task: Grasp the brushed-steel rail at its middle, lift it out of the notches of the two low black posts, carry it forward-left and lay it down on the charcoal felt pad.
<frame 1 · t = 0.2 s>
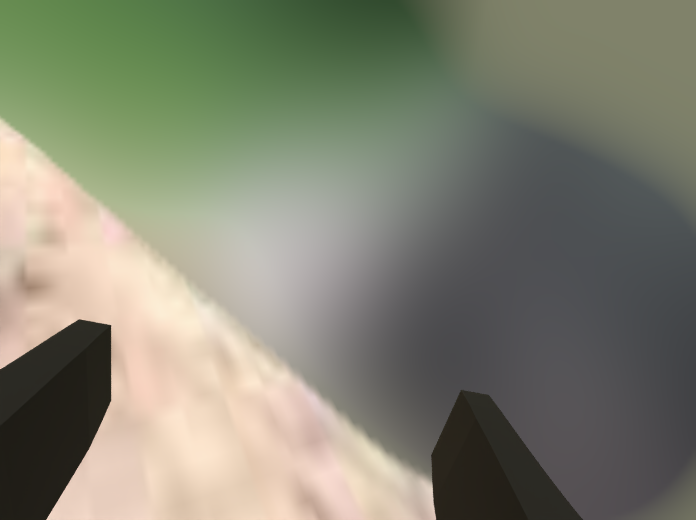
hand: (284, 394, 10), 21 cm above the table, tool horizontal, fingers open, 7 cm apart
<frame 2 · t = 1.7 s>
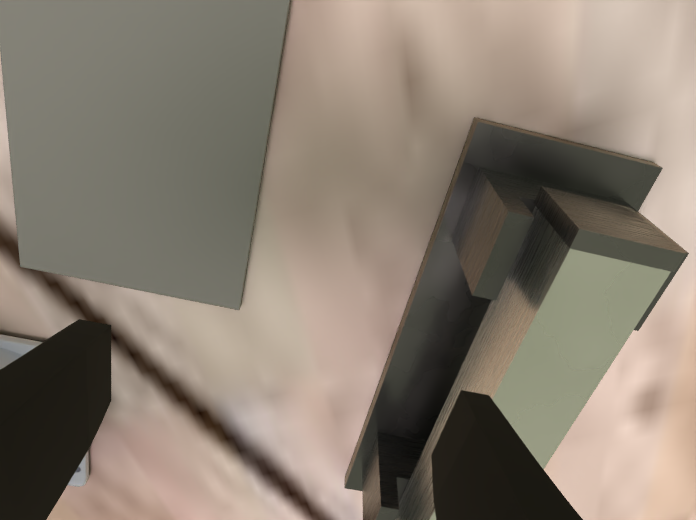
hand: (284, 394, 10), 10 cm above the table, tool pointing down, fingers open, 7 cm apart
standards: (469, 350, 23), on the table
pad: (146, 1, 16), on the table
rail: (484, 399, 20), point 3 cm above the table, touching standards
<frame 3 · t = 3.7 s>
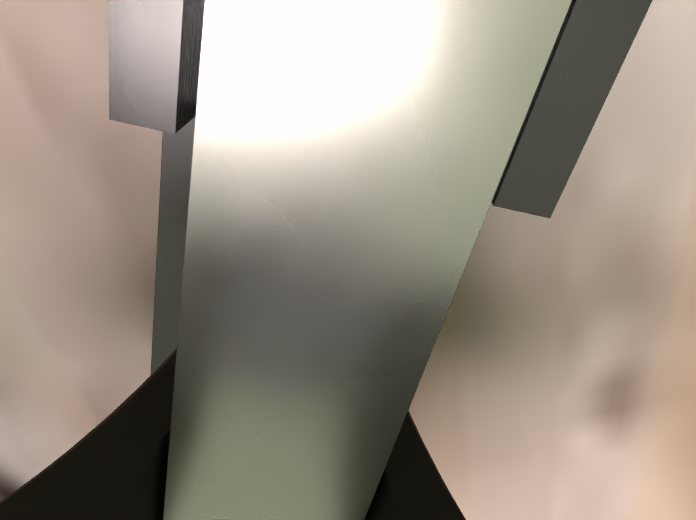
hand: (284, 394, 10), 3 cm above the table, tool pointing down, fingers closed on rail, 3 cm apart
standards: (298, 308, 13), on the table
rail: (284, 392, 10), point 3 cm above the table, touching gripper, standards
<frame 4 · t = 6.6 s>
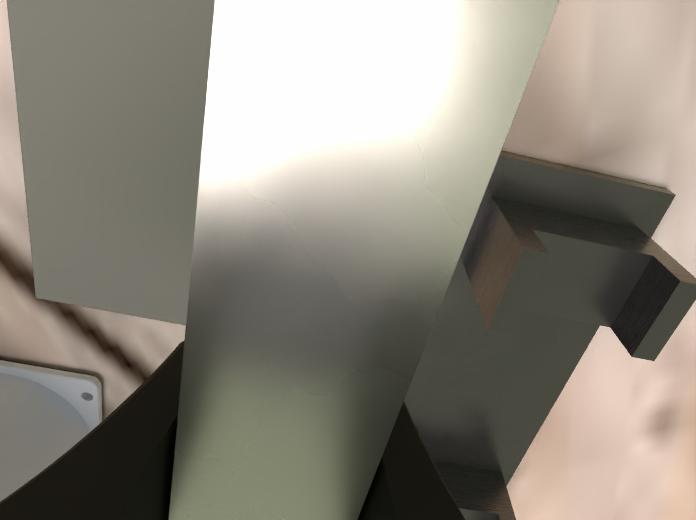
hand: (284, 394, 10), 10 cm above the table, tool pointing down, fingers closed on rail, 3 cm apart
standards: (482, 373, 23), on the table
pad: (159, 40, 16), on the table
rail: (285, 387, 11), point 10 cm above the table, touching gripper
when the fingers open (2 cm above the table, at t = 9.6 s): rail stays where it is, resting on pad.
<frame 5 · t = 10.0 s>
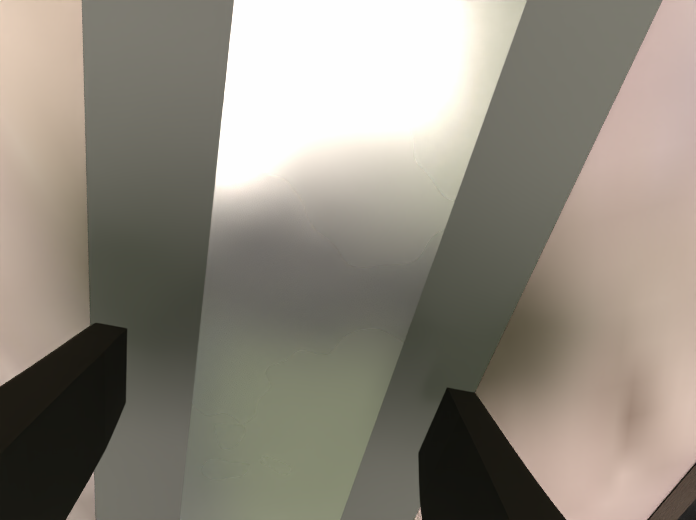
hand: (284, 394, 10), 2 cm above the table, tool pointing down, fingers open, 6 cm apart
pad: (292, 342, 12), on the table
rail: (289, 361, 12), resting on pad
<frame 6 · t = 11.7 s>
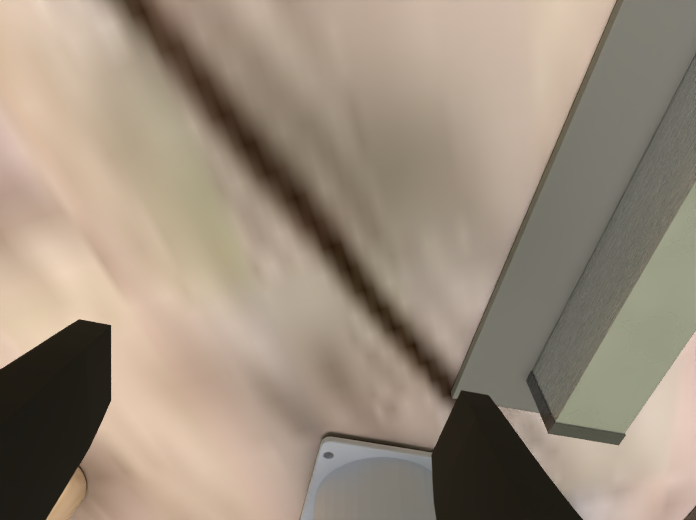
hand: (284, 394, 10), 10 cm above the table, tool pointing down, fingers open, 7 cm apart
pad: (651, 203, 19), on the table
beer glass: (33, 472, 28), on the table
rail: (655, 213, 19), resting on pad
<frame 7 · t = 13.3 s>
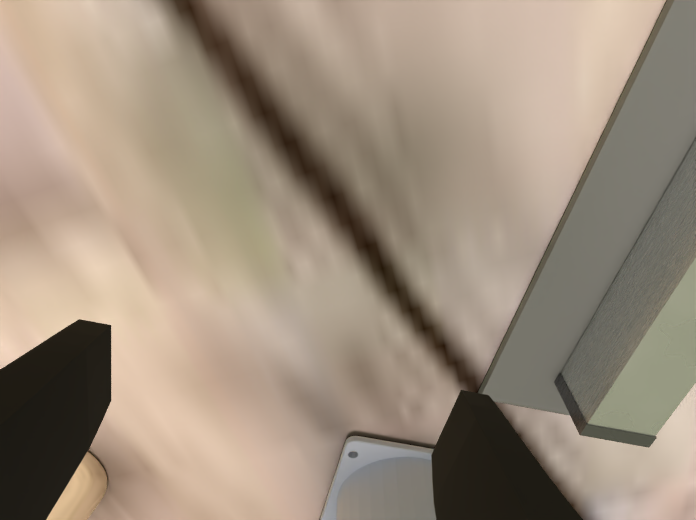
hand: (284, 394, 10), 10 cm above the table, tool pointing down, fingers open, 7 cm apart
pad: (687, 207, 19), on the table
beer glass: (53, 468, 28), on the table
rail: (691, 216, 19), resting on pad
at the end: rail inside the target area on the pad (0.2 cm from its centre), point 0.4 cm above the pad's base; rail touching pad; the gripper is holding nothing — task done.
